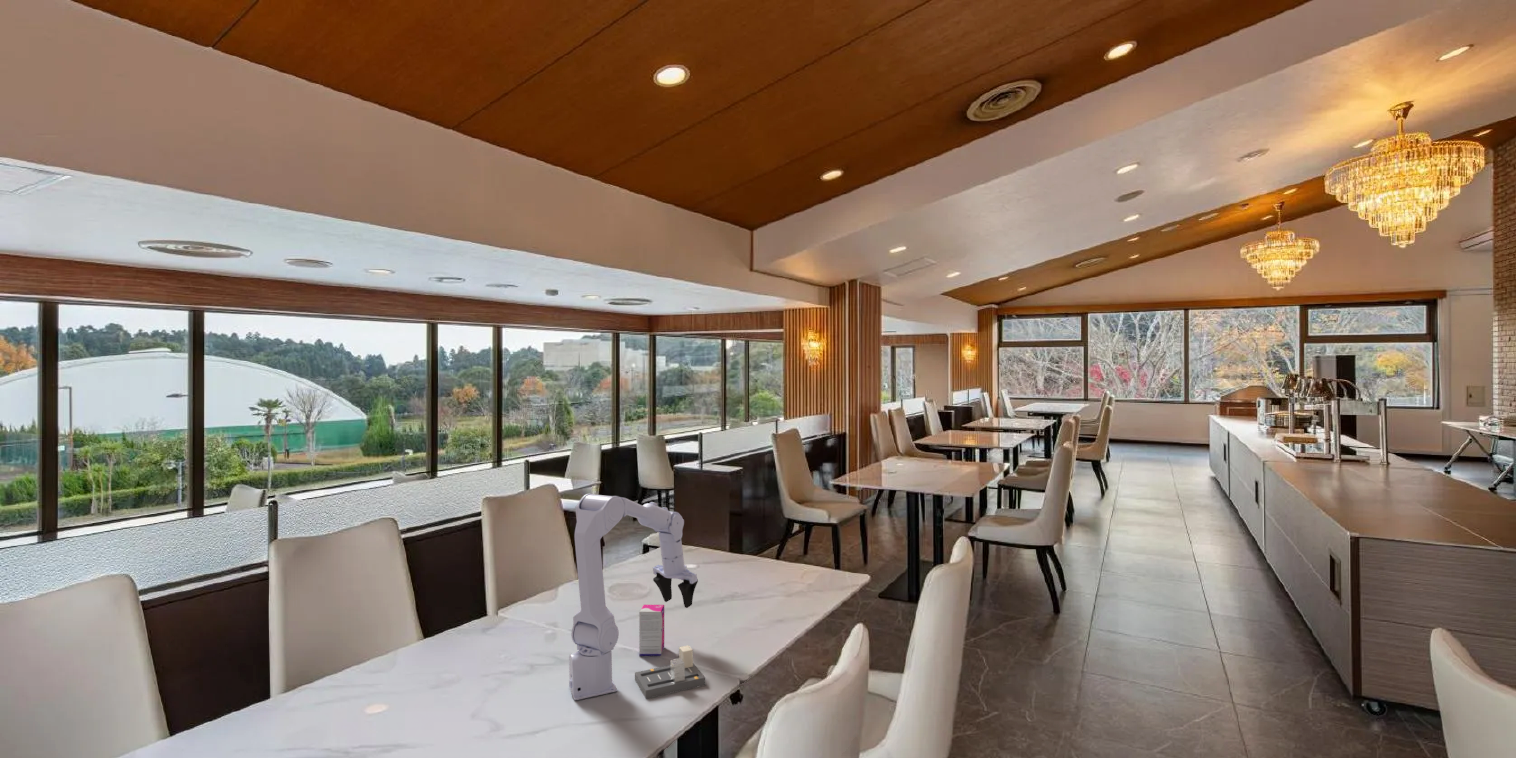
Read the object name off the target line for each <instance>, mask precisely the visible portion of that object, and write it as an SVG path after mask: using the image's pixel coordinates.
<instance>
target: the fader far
mask: <svg viewBox="0 0 1516 758" xmlns="http://www.w3.org/2000/svg"><path fill="white" fill-rule="evenodd" d="M693 654H694V651H693V648H691V646H690V645H683V646H680V647H679V646H678V656H679V657H678V658H681V659H682V661H683V662H684V668H689V667H693V663H694V656H693Z"/></svg>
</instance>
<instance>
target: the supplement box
mask: <svg viewBox="0 0 1516 758" xmlns="http://www.w3.org/2000/svg"><path fill="white" fill-rule="evenodd" d="M638 616H639V621H638V622H639V626H638V627H639V628H638V629H639V632H638V633H639V636H638V637H639V641H638V643H639V647H638V648H639V650H638V653H639V655H638V656H639V657H660V656H662V654H663V651H664V649H665V604H643V605H642V606H641V609H640V610H639V615H638Z"/></svg>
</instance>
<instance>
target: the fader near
mask: <svg viewBox="0 0 1516 758" xmlns="http://www.w3.org/2000/svg"><path fill="white" fill-rule="evenodd" d="M669 665H670V666H671V678H672V680H673V681H674V683H676V682H680V681H685V669H684V662H683V661H682V659H681V658H679V657H678V658H674V659H670V663H669Z"/></svg>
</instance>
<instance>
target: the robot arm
mask: <svg viewBox="0 0 1516 758" xmlns="http://www.w3.org/2000/svg"><path fill="white" fill-rule="evenodd" d="M575 516H576V523H575V529H574V546H575V547H574V548H575V557H576V569H577V578H578V579H577V580H578V589H579V590H578V592H579V602H580V610H578V611H577V612H576V613H575V614H574V615H573V617H572V619H573V621H572V622H573V625H572V628H571V632H570V634H571V640H572V642H573V644H575V645H576V650H578V651H576V652H573V653H571V654H569V656H568V669H569V670H568V673H569V675H568V676H569V680H568V683H569V684H568V685H569V689H570V692H571V695H572V698H573V701H578V700H584V699H588V698H592V697H597V696H601V695H606V694H610V693H615V692H617V690H618V689H617V686H616V684H615V683H614V681H613V662H612V661H613V660H612V657H613V656H612V651H613V650H614V648H615V647H616V645H617V643H618V639H619V628H618V626H617V624H616V620H615V615H614V614H613V613H612V612H611V610H610V609H609V608H608V607H607V606H606V604H607V603H606V594H605V585H604V584H605V582H604V572H603V560H602V549H601V548H602V547H601V539H602V537H604V536H606V535H607V534H608V533H609V532H611V530H612V529H613V528H614V527H616V525H618V524H619V523H620V521H621V520H622V519H623V518H626V516H629V517H632V518H636V519H637V521H638V523H639V524H640V525H641V526H643V527H647V528H650V529H652V530H654V532H655V533H658V538H659V547H660V555H661V563H662V565H661V564H656V565H655V566H653V567H652V572H653V575H655V577H653V579H652V581H653V582H654V583H655V585H656V586H657V588H658V590H659V592H660V593H661V596H662V598H663V600H664V603H667V602H670V600H672V598H673V594H672V593H673V592H672V591H673V589H672V579H676V580H681V581H682V582H680V583H679V584H677V587H678V589H679V591H680V593H681V596H682V601H683V606H684V608H686V609H687V608H689V607H691V606H692V605H693V599H694V594H695V591H696V590H695V589H696V588H697V584H698V583H699V580H698V576H697V573H695V572H692V571H691V570H689V569H688V567H687V565H686V564H685V559H684V549H683V544H682V543H683V541H682V538H683V529H684V525H685V519H683V516H682V515H681V514H680V513H679V512H678V511H670V510H669V509H668V507H666V506H665V507H664V506H662V507H661V506H658V503H657V502H653V501H650V502H649V503H648V502H647V503H644V504H643V505H642V504H640V503H637V502H636V501H633V500H631V499H629V498H626V497H622V496H619V495H602V494H594V493H591V492H590V493H586V494H584V495H583V496H582V497H581V498H580V499H579V501H578V502H577V504H576V506H575Z"/></svg>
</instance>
